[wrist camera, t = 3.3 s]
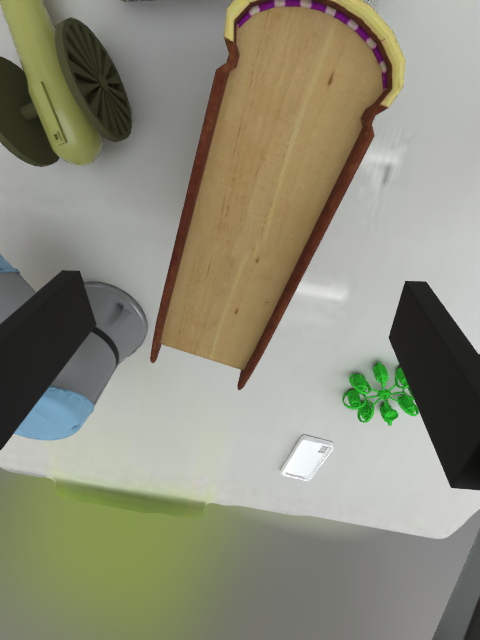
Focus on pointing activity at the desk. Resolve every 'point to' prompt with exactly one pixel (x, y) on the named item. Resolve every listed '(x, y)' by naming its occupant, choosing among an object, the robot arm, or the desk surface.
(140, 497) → the desk surface
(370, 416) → the chandelier
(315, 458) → the phone case
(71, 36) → the cannon
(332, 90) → the decorative book
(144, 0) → the book rack
